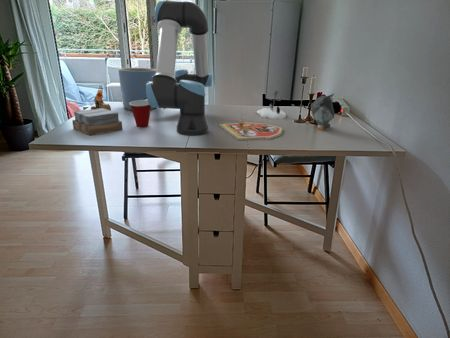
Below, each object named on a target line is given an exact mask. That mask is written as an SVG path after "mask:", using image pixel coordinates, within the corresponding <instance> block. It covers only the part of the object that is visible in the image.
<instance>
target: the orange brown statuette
mask: <svg viewBox="0 0 450 338" xmlns="http://www.w3.org/2000/svg"><path fill="white" fill-rule="evenodd" d="M103 92H104V90H103V89H98V90H97V92H96V94H95V96H94V106H91V107H90V110H92V109H100V108H104V109H107V110H110V111H112V108H111V105H110V104H109V103H105V102H104V99H103V98H104V95H103Z"/></svg>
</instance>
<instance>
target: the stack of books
mask: <svg viewBox="0 0 450 338" xmlns="http://www.w3.org/2000/svg"><path fill="white" fill-rule="evenodd" d="M73 114H74V119H72V120H71V121H72V127H73V130H76V131H78V132H80V133H82V134H85V135H88V136H89V137H90V136H94V135H100V134H101V135H102V134H107V133H112V132H116V131H117V132H118V131H121V130H122V131H123V130H124V129H123V121H122V120H119V112H116V111H113V110H111V111H110V110H107V109H104V108H100V109H92V110H91V109H84V110H78V111H74V112H73Z"/></svg>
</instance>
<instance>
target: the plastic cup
mask: <svg viewBox="0 0 450 338" xmlns="http://www.w3.org/2000/svg"><path fill="white" fill-rule="evenodd" d="M129 104H130V106H131V108H132V109H131V110H132V114H133V118H134V122H135V124H136V127H138V128H147V127H149V123H150V119H151V118H150V116H151V109H150V108H151V106H150V104H149V102H148V100H137V101H132V102H130V103H129Z"/></svg>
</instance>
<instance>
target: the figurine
mask: <svg viewBox="0 0 450 338" xmlns="http://www.w3.org/2000/svg"><path fill="white" fill-rule="evenodd" d="M279 91H280V90H279V89H275V90H274V93H273V96H274V98H273V99H270V98H267V100H269V101H271V102H269V103H270V104H269V107H267V108H266V107H262V108H261V109H259V110H256V114H258V115H259V116H260V117H261V118H264V119H266V118H269V119H272V120H275V119H276V120H277V119H279V120H282V119H285V118H287V113H286V112H285V111H283V110H282V109H281V108H280V106H279V105H277V106H276V108H275V107H274V105H275V103H273V102H275V101H277V102H279V101H280V102H281V96H278V94H279ZM272 101H273V102H272Z"/></svg>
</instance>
